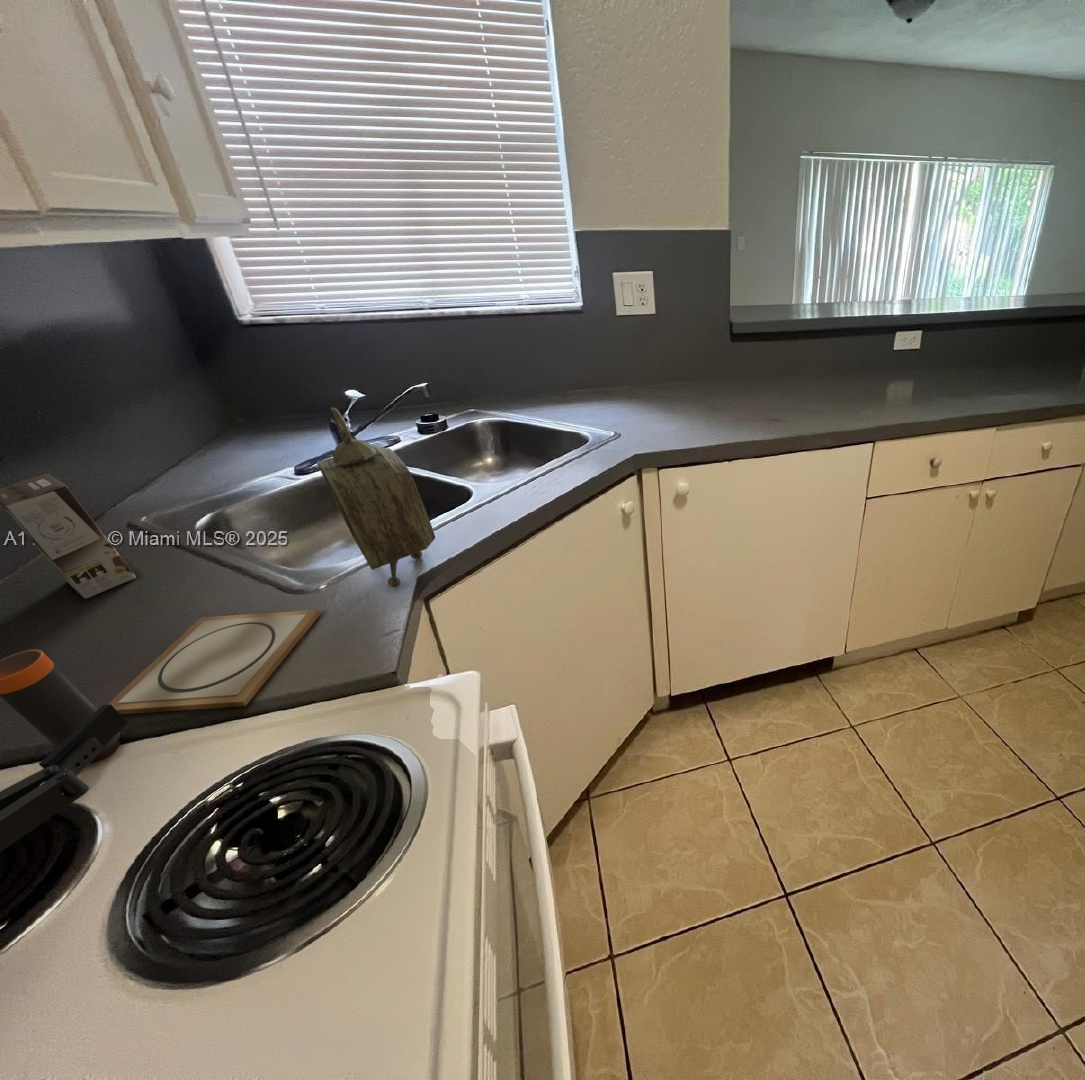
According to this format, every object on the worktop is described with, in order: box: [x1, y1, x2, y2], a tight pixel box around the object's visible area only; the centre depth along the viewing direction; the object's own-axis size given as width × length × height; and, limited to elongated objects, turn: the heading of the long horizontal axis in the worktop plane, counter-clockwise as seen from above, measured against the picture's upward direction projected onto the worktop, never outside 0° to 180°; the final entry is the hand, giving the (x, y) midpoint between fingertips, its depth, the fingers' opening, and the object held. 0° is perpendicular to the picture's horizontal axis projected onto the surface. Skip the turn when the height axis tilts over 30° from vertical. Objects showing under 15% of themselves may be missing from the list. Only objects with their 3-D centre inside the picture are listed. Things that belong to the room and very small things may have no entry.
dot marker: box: [0, 649, 121, 764], centre depth 57 cm, size 4×4×13 cm
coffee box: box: [0, 473, 137, 600], centre depth 83 cm, size 9×6×16 cm
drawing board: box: [106, 609, 322, 716], centre depth 71 cm, size 16×16×1 cm
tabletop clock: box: [316, 407, 436, 589], centre depth 80 cm, size 14×9×25 cm, turn 41°
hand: (46, 717), depth 55 cm, fingers open, 13 cm apart
